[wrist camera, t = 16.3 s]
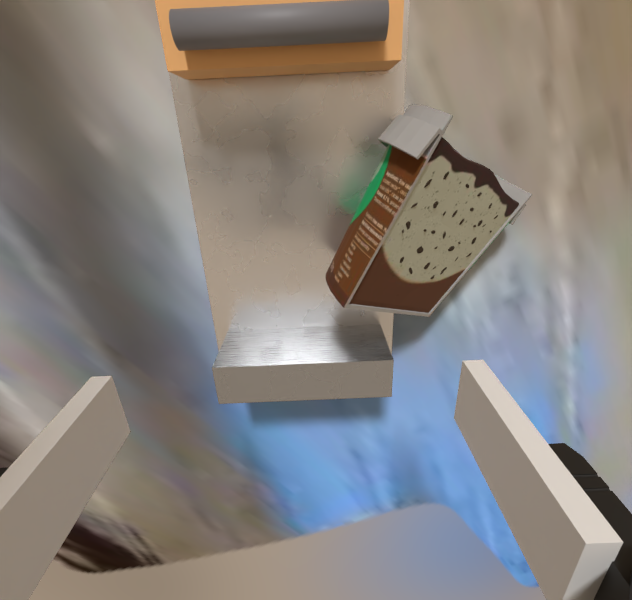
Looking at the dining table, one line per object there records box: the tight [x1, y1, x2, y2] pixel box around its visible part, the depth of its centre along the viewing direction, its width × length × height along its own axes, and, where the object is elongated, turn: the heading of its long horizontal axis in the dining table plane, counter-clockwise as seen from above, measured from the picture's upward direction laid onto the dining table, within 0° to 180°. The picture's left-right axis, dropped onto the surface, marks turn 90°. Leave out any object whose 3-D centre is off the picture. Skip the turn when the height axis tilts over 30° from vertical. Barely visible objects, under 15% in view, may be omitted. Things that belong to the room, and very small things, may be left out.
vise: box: [169, 0, 410, 404], centre depth 22 cm, size 14×28×6 cm, turn 2°
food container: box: [326, 104, 532, 317], centre depth 22 cm, size 12×6×10 cm
